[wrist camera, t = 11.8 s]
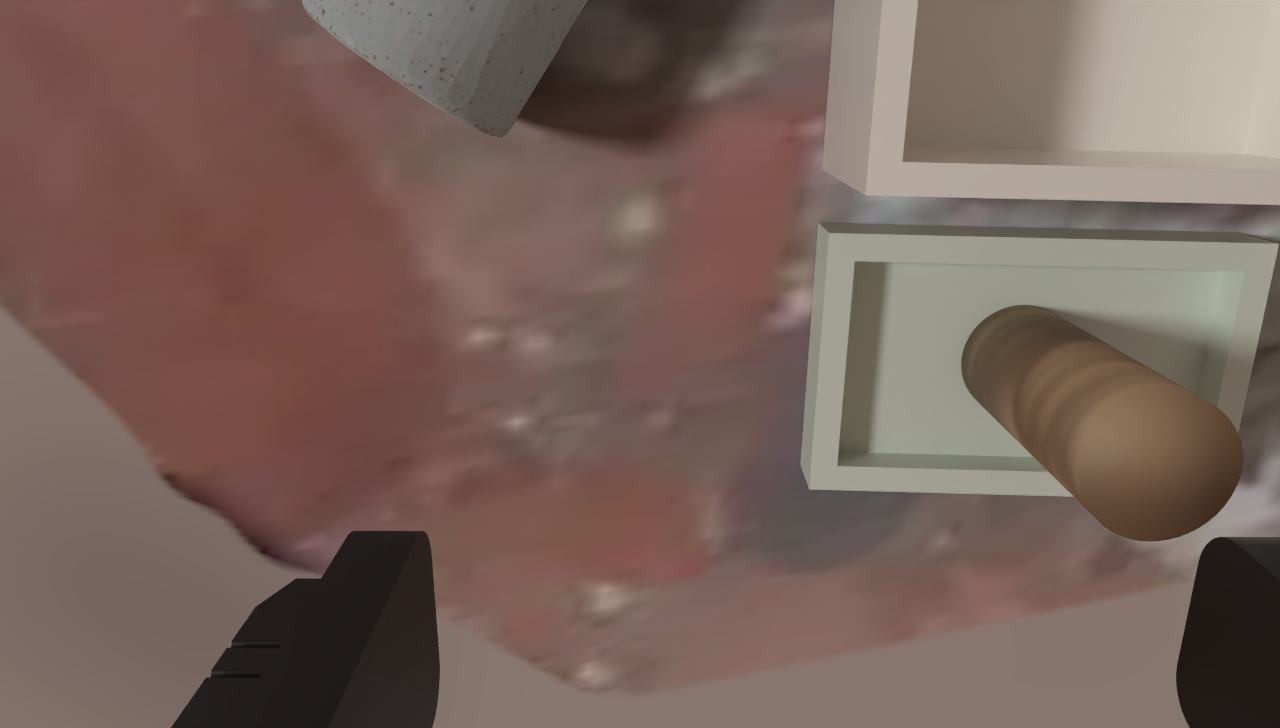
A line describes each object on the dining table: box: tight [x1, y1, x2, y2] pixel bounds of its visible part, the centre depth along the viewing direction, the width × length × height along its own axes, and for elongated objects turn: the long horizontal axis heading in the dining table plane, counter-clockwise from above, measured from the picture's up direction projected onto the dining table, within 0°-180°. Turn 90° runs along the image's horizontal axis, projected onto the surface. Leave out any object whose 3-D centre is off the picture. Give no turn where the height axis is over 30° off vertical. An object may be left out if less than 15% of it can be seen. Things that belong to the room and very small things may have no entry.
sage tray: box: [800, 223, 1279, 497], centre depth 37 cm, size 10×16×2 cm, turn 89°
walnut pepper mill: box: [961, 305, 1243, 541], centre depth 32 cm, size 4×4×11 cm
